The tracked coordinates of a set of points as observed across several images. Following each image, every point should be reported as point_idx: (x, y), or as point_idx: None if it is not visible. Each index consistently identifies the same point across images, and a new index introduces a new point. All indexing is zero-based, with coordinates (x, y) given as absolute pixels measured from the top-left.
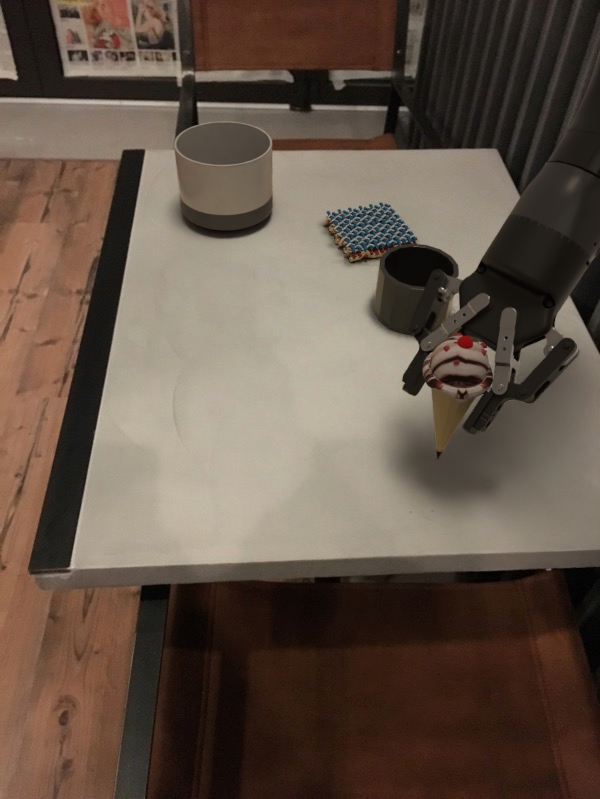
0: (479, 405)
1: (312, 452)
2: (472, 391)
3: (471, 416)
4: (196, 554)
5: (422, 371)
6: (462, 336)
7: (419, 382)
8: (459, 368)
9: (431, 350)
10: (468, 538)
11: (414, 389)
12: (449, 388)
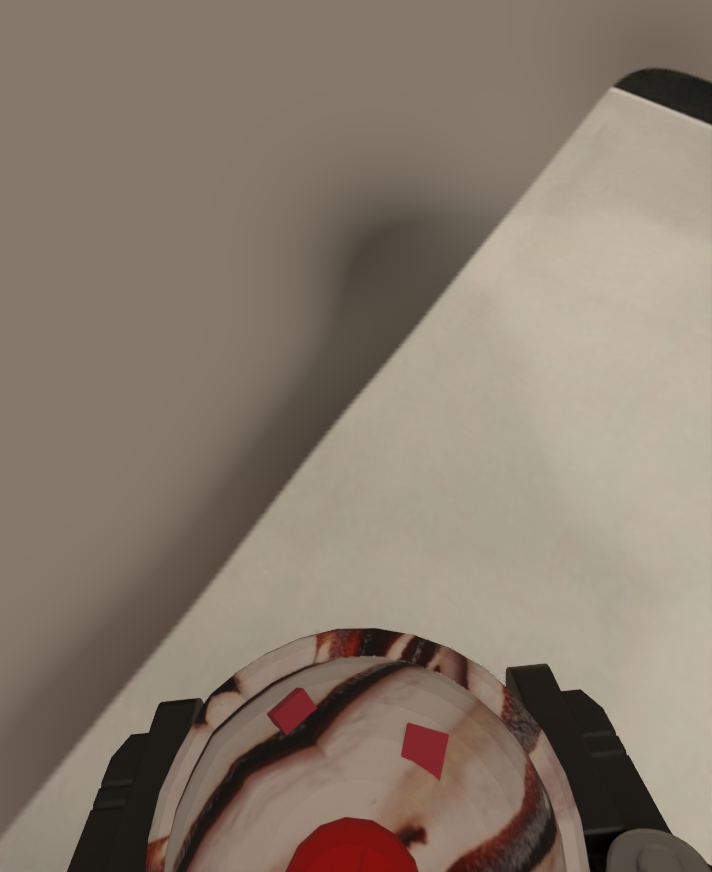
0: (155, 795)
1: (632, 558)
2: (179, 760)
3: (174, 740)
4: (515, 226)
5: None
6: None
7: None
8: (260, 710)
9: (606, 868)
10: (159, 698)
11: None
12: (279, 657)
